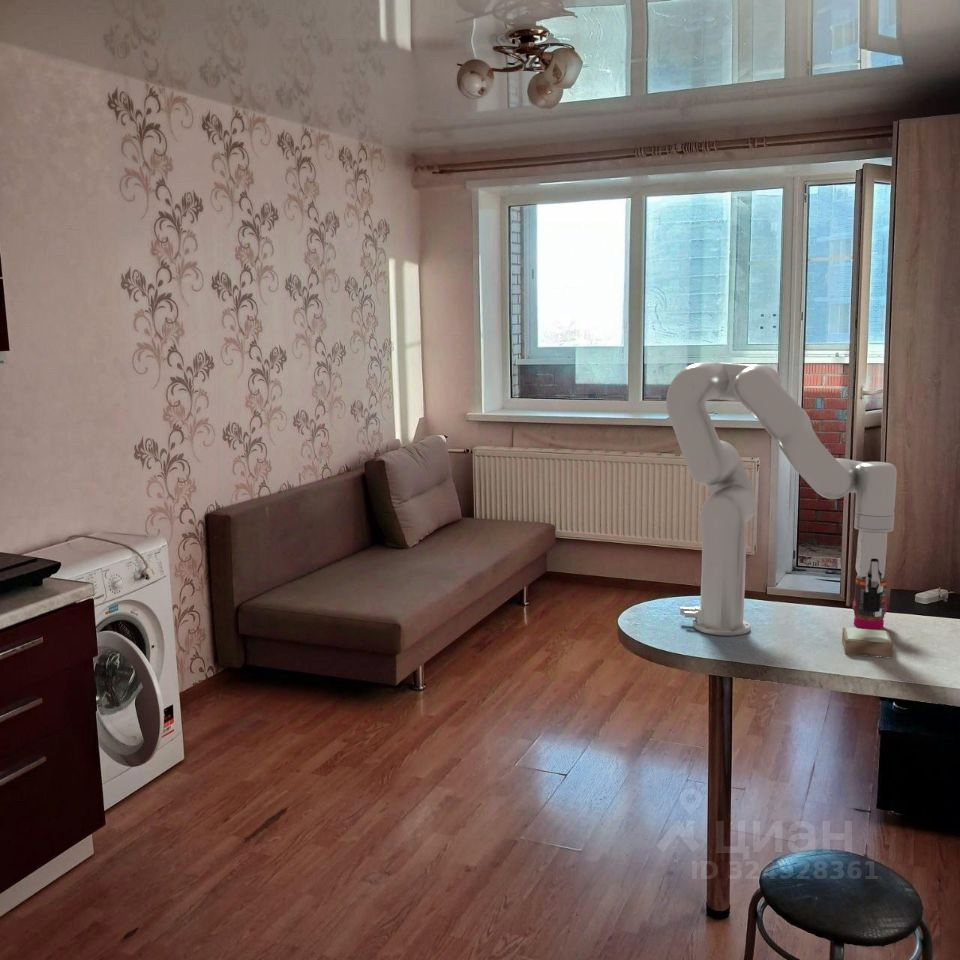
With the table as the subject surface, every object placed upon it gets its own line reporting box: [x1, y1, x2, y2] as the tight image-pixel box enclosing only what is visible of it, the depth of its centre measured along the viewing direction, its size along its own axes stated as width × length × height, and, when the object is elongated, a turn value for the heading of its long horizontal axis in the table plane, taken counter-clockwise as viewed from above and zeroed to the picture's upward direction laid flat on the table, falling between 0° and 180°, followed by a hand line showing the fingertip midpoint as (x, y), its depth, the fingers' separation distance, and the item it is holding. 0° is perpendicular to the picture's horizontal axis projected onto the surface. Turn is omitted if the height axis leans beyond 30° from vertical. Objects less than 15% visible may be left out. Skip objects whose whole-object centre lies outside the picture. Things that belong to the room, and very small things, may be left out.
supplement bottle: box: [853, 565, 887, 621], centre depth 201 cm, size 6×6×11 cm
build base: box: [841, 627, 894, 658], centre depth 203 cm, size 9×9×3 cm
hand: (869, 605), depth 202 cm, fingers closed on supplement bottle, 6 cm apart
